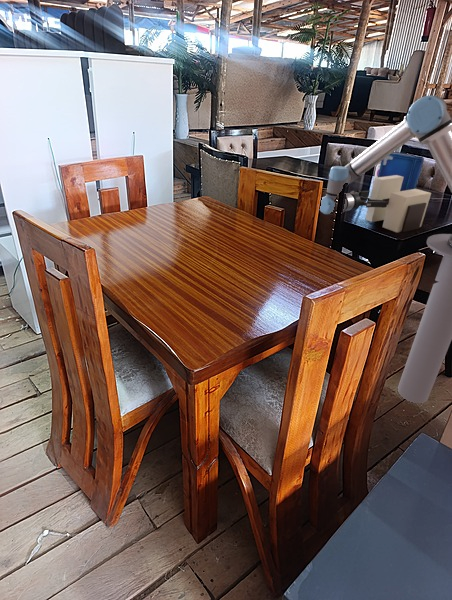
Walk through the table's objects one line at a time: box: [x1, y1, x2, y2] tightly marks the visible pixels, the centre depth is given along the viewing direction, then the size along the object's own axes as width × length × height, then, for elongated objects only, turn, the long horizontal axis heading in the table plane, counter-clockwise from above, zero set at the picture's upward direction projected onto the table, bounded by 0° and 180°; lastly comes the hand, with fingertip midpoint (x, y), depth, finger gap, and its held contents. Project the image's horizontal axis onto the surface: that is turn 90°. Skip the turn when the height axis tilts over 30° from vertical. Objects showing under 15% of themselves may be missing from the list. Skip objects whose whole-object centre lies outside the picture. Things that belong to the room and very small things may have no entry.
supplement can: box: [371, 163, 381, 188], centre depth 243 cm, size 8×8×15 cm
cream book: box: [364, 175, 404, 223], centre depth 191 cm, size 4×16×20 cm, turn 123°
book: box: [378, 151, 425, 191], centre depth 223 cm, size 22×7×25 cm, turn 58°
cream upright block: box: [382, 188, 432, 233], centre depth 182 cm, size 9×18×16 cm, turn 122°
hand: (380, 197), depth 188 cm, fingers open, 13 cm apart
